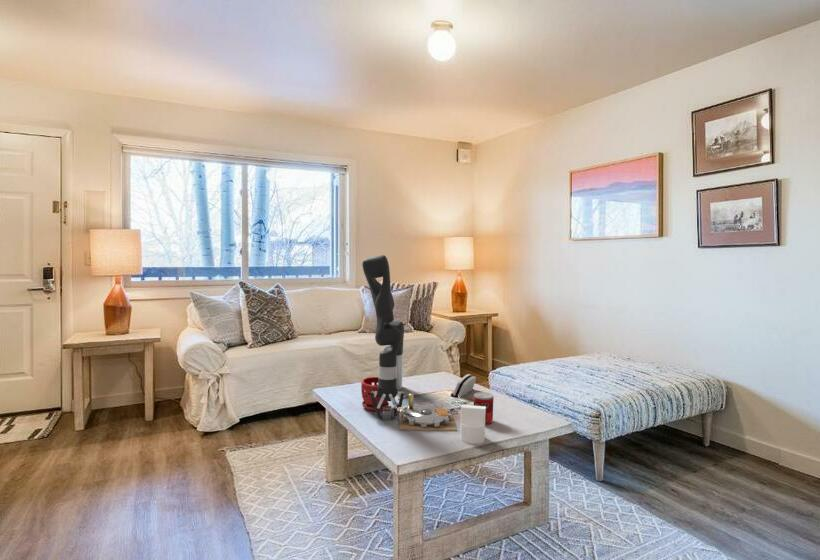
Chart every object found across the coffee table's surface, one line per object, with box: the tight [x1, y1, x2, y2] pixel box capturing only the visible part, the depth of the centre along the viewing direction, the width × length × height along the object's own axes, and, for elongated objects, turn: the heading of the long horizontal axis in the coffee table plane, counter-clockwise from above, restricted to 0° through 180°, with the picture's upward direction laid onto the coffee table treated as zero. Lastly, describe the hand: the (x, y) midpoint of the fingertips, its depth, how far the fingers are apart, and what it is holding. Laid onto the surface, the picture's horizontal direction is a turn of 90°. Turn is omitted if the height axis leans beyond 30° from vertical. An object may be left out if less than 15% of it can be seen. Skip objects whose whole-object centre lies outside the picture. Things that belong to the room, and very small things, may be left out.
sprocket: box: [401, 392, 453, 427], centre depth 191 cm, size 20×20×8 cm
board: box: [398, 408, 457, 432], centre depth 192 cm, size 22×22×1 cm
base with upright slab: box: [459, 404, 486, 445], centre depth 174 cm, size 9×9×12 cm
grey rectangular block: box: [382, 405, 392, 422], centre depth 193 cm, size 6×3×4 cm, turn 1°
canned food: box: [473, 391, 494, 426], centre depth 191 cm, size 8×8×11 cm
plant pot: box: [360, 376, 390, 412], centre depth 204 cm, size 13×13×12 cm
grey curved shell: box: [450, 373, 477, 398], centre depth 227 cm, size 17×5×10 cm, turn 150°
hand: (387, 416), depth 193 cm, fingers open, 5 cm apart
